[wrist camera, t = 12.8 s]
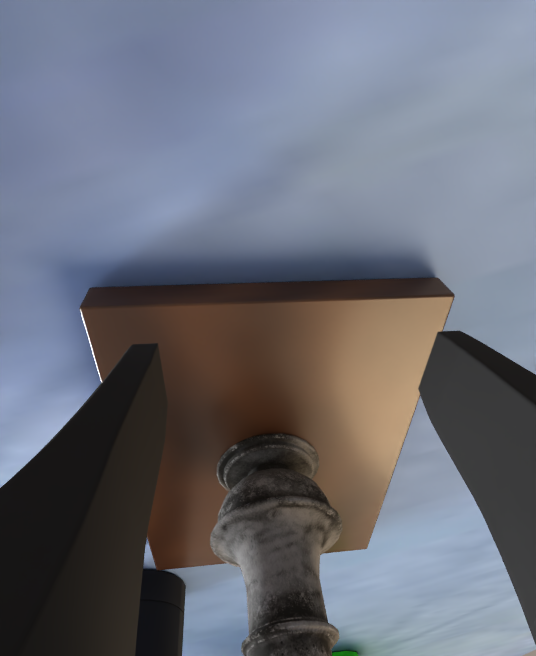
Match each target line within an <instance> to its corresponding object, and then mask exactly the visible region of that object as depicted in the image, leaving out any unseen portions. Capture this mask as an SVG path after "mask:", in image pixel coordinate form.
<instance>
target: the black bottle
mask: <svg viewBox="0 0 536 656" xmlns="http://www.w3.org/2000/svg"><path fill="white" fill-rule="evenodd" d="M185 588H186V586H185V584H184V582H183V581H182V579H180V578H179V577H177V576H175V575H174V574H170V573H167V572H163V571H156V570H143V573H142V583H141V593H140V604H139V615H138V627H137V638H136V650H135V656H182V643H183V624H184V606H185Z"/></svg>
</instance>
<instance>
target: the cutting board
mask: <svg viewBox="0 0 536 656" xmlns="http://www.w3.org/2000/svg"><path fill="white" fill-rule="evenodd" d="M453 300H454V294H453V293H452V292H451V290H450V289H449V288H448V287H447V286H446V285H445V284H444V283H443V282H442V281H441V280H440V279H439V278H406V279H371V280H337V281H302V282H267V283H233V284H198V285H163V286H129V287H94V288H90V289H89V290H88V292H87V294H86V296H85V298H84V300H83V302H82V304H81V306H80V308H79V309H80V312H81V315H82V319H83V322H84V326H85V329H86V332H87V336H88V339H89V342H90V346H91V349H92V353H93V356H94V359H95V363H96V366H97V369H98V373H99V376H100V380H101V383H102V382H103V380H104V379H105V378H106V377H107V375H108V374H109V373H110V372H111V370H112V369H113V368H114V366H115V365H116V364H117V363H118V361H119V360H120V359H121V357H122V356H123V355H124V353H125V352H126V351H127V349H128V348H129V347H130V346H131V345H132V344H151V343H158V347H159V353H160V359H161V365H162V371H163V377H164V383H165V389H166V395H167V401H168V407H167V422H166V435H165V443H164V449H163V454H162V459H161V464H160V470H159V475H158V480H157V485H156V490H155V495H154V500H153V505H152V510H151V516H150V521H149V526H148V532H147V539H148V542H149V545H150V549H151V552H152V555H153V559H154V562H155V566H156V569H157V570H165V569H175V568H185V567H195V566H204V565H214V564H224V563H226V562H224V561H222V560H221V559H220V558H219V557H218V556H217V555H215V554H214V552H213V550H212V548H211V546H210V538H211V532H212V530H213V529H214V527H215V525H216V524H217V522H218V514H219V511H220V509H221V506H222V504H223V501H224V499H225V497H226V495H227V494H228V492H229V491H227V490H226V489H225V488H224V487H223V486H222V485H221V484H220V483H219V480H218V477H217V464H218V462H219V460H220V458H221V456H222V455H223V454H224V453H225V452H226V451H227V450H228V449H229V448H230V447H232V446H234V445H235V444H237V443H238V442H240V441H243V440H245V439H248V438H251V437H253V436H259V435H264V434H287V435H292V436H296V437H299V438H301V439H303V440H306V441H307V442H308V443H309V444H311V445H312V446H313V447H314V448H315V450H316V452H317V453H318V456H319V468H318V471H317V473H316V475H315V476H314V477H313V479H312V480H313V481H314V482H316V483H317V485H318V486H319V487H320V489H321V490H322V491H323V493H324V494H325V496H326V497H327V499H328V500H329V502H330V506H331V507H332V508H334V509H335V510H336V511H337V512H338V514H339V515H340V517H341V519H342V532H341V534H340V536H339V539H338V540H337V541H336V542H335V544H334V545H333V546H332V547H331V548H330V549H328V550H327V551H325V552H324V553H331V552H341V551H351V550H361V549H367V547H368V544H369V541H370V538H371V535H372V532H373V529H374V526H375V524H376V521H377V518H378V515H379V512H380V509H381V506H382V503H383V501H384V498H385V495H386V492H387V489H388V486H389V483H390V480H391V478H392V475H393V472H394V469H395V466H396V463H397V460H398V458H399V455H400V452H401V449H402V446H403V443H404V440H405V437H406V435H407V432H408V429H409V426H410V423H411V420H412V417H413V414H414V412H415V409H416V406H417V403H418V400H419V397H420V392H419V390H418V388H419V385H420V382H421V379H422V376H423V373H424V370H425V367H426V364H427V361H428V358H429V356H430V353H431V350H432V347H433V344H434V341H435V338H436V335H437V332H442V331H443V328H444V325H445V323H446V320H447V317H448V314H449V311H450V308H451V305H452V302H453Z"/></svg>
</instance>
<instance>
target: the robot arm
mask: <svg viewBox="0 0 536 656" xmlns="http://www.w3.org/2000/svg"><path fill="white" fill-rule="evenodd" d="M418 390H419V392H420V395H421V398H422V400H423V403H424V406H425V408H426V411H427V413H428V416H429V418H430V420H431V423H432V424H433V426H434V428H435V430H436V432H437V434H438V435H439V437H440V439H441V441H442V443H443V444H444V446H445V448H446V450H447V452H448V453H449V455H450V457H451V459H452V460H453V462H454V464H455V466H456V467H457V469H458V471H459V473H460V474H461V476H462V478H463V480H464V481H465V483H466V485H467V487H468V488H469V490H470V492H471V494H472V495H473V497H474V499H475V501H476V503H477V505H478V507H479V509H480V511H481V513H482V514H483V516H484V519H485V521H486V523H487V525H488V528H489V530H490V532H491V534H492V537H493V539H494V541H495V543H496V546H497V548H498V550H499V552H500V555H501V557H502V559H503V562H504V564H505V567H506V569H507V572H508V574H509V576H510V579H511V581H512V584H513V586H514V589H515V591H516V594H517V596H518V598H519V601H520V604H521V606H522V609H523V612H524V615H525V617H526V620H527V623H528V625H529V628H530V631H531V633H532V636H533V639H534V641H535V644H536V375H535V374H533V373H532V372H530V371H528V370H527V369H525V368H523V367H522V366H520V365H518V364H517V363H515V362H513V361H512V360H510V359H508V358H507V357H505V356H503V355H502V354H500V353H498V352H497V351H495V350H493V349H492V348H490V347H488V346H487V345H485V344H483V343H482V342H480V341H478V340H476V339H474V338H473V337H471V336H469V335H467V334H465V333H463V332H461V331H443V332H437V335H436V338H435V341H434V344H433V347H432V350H431V353H430V356H429V358H428V361H427V364H426V367H425V370H424V373H423V376H422V379H421V382H420V385H419V388H418ZM167 407H168V401H167V395H166V389H165V383H164V377H163V371H162V365H161V359H160V353H159V347H158V343H151V344H132V345H131V346H130V347H129V348H128V349H127V351H126V352H125V353H124V355H123V356H122V357H121V359H120V360H119V361H118V363H117V364H116V365H115V366H114V368H113V369H112V370H111V372H110V373H109V374H108V375H107V377H106V378H105V379H104V380H103V382H102V383H101V384H100V385H99V387H98V388H97V389H96V390H95V391H94V393H93V394H92V395H91V396H90V397H89V399H88V400H87V401H86V402H85V403H84V405H83V406H82V407H81V408H80V409H79V410H78V412H77V413H76V414H75V415H74V416H73V417H72V418H71V419H70V420H69V421H68V422H67V423H66V425H65V426H64V427H63V428H62V429H61V430H60V431H59V432H58V433H57V434H56V435H55V436H54V437H53V439H52V440H51V441H50V442H49V443H48V444H47V445H46V446H45V447H44V448H43V449H42V450H41V451H40V452H39V453H38V454H37V455H36V456H35V457H34V458H33V459H32V460H30V461H29V462H28V463H27V464H26V465H25V466H24V467H23V468H22V469H21V470H20V471H19V472H18V473H17V474H15V475H14V476H13V477H12V478H11V479H10V480H9V481H8V482H7V483H6V484H4V485H3V486H2V487H1V488H0V656H135V650H136V638H137V627H138V615H139V604H140V593H141V583H142V573H143V563H144V553H145V545H146V538H147V532H148V526H149V521H150V516H151V510H152V505H153V500H154V495H155V490H156V485H157V480H158V475H159V470H160V464H161V459H162V454H163V449H164V443H165V435H166V422H167Z"/></svg>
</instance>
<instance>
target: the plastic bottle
mask: <svg viewBox="0 0 536 656" xmlns="http://www.w3.org/2000/svg"><path fill="white" fill-rule="evenodd" d="M332 656H358V654H357V652H351V651H341V652H333V653H332Z"/></svg>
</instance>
